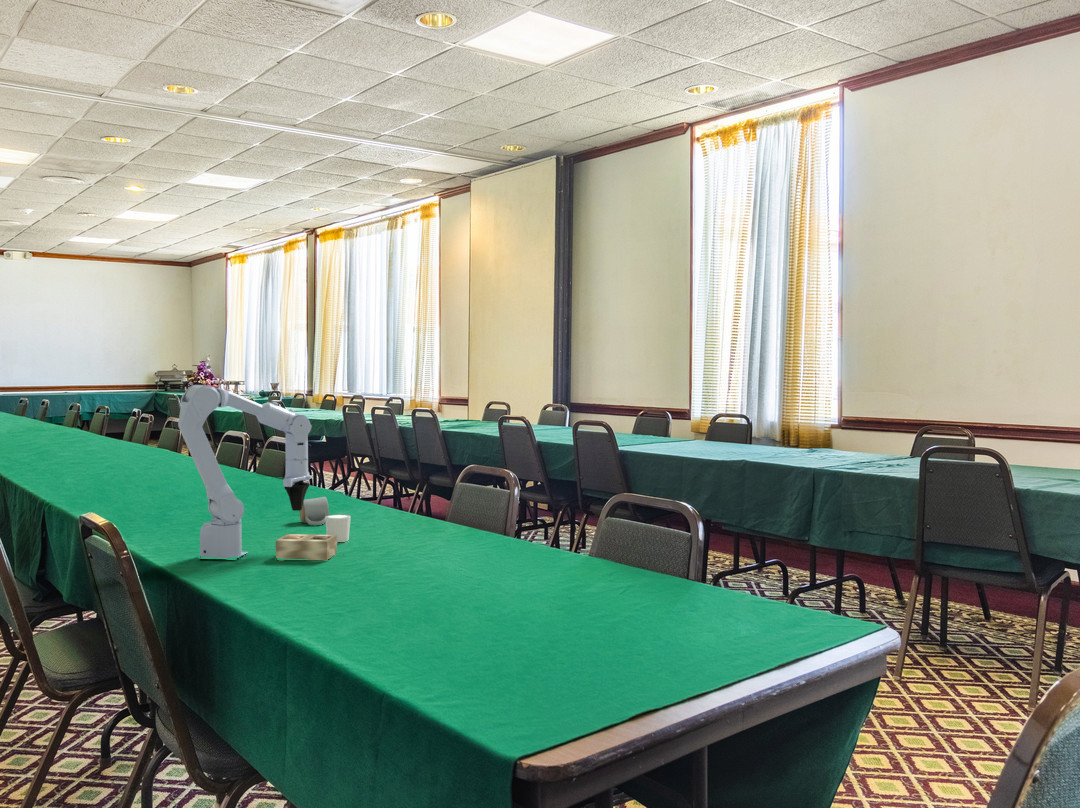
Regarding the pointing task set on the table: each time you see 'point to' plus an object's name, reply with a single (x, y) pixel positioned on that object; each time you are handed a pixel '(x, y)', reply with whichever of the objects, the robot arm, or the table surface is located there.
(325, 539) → the walnut peg
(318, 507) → the ceramic mug
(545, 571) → the table surface
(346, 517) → the white cup
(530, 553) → the table surface
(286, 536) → the terracotta peg
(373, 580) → the table surface
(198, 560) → the table surface
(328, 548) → the maple block
